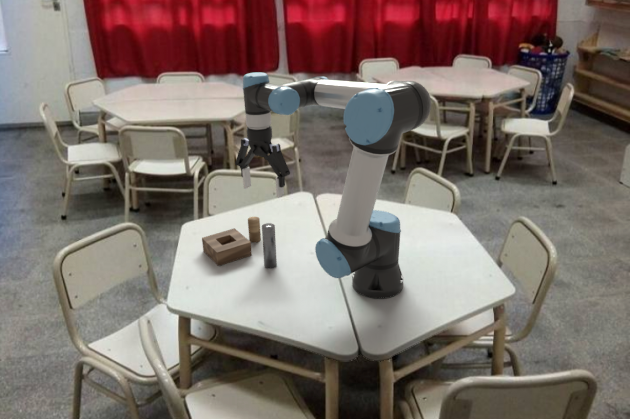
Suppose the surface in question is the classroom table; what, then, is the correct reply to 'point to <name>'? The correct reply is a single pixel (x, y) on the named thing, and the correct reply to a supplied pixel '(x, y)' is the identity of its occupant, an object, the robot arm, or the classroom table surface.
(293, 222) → the classroom table surface
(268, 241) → the metal pin
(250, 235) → the oak dowel
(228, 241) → the socket block
